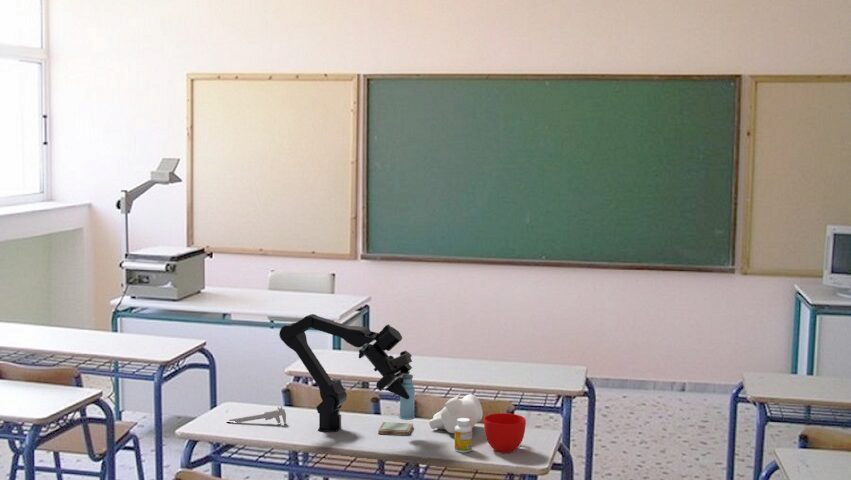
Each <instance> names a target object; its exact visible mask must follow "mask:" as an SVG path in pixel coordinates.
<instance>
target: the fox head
mask: <svg viewBox="0 0 851 480" xmlns="http://www.w3.org/2000/svg"><path fill="white" fill-rule="evenodd" d="M460 395H461V393H459V394H457V396H455V397H451V398H450V399H448V400H447V402H445V403H444V407H443V408H442V409H441V410H440V411H438V412H437V413H435V414H434V415H433V418H432V419H430V420H429V421H428V424H429V427H430V429H434V430H435V429H436V430H446V431H447V432H448V433H450V434H454V435H455V427H456V426H457V425H458V424H457V419H459V418H468V419H470V425H469V426H471V427H472V428H473V427H474V426H475V425H476V424H478V423H479V422H480V421H481V420H482V419H483V413H484V411H483V407H482V405H481V402H480V400H479V399H478V398H477V396H476V395H474V394H470V393H469V394H467V395H465V396H464V397H463V398H460V397H459V396H460Z"/></svg>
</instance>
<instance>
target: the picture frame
mask: <svg viewBox="0 0 851 480" xmlns="http://www.w3.org/2000/svg"><path fill="white" fill-rule="evenodd" d="M413 426H414V423H413V422H411V423H408V422H392V421H391V422H387V421H383V422H382V423H381V426H380V427H379V428H378V431H377V432H378V435H389V436H390V435H393V436H410V433H411V432H412V429H413Z"/></svg>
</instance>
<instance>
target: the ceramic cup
mask: <svg viewBox="0 0 851 480" xmlns="http://www.w3.org/2000/svg"><path fill="white" fill-rule="evenodd" d="M526 422H527V421H526V418H525V417H524V416H522V415H520V414H514V413H506V412H505V413H504V412H503V413H500V412H499V413H491V414H488V415H485V416H484V417H483V426H484V427H483V428H484V435H485V438H486V440H487V443H488V444H489V446H490V447H491V448H492V450H493V451H494V452H495V453H498V454H500V453H501V454H511V453H514V452H515V451H516V450H517V449H518V448H519V447H520V445H521V444H522V441H523V439H524V436H525V432H526V424H527V423H526Z"/></svg>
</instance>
